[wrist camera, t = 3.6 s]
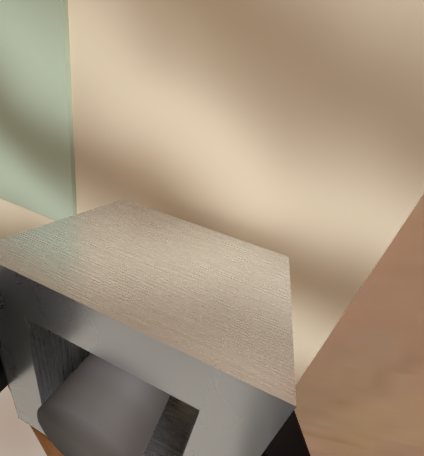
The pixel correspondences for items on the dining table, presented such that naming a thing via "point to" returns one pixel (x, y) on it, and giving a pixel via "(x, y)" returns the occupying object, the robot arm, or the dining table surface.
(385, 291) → the dining table surface
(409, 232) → the dining table surface
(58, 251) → the collar
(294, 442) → the robot arm
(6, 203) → the board
